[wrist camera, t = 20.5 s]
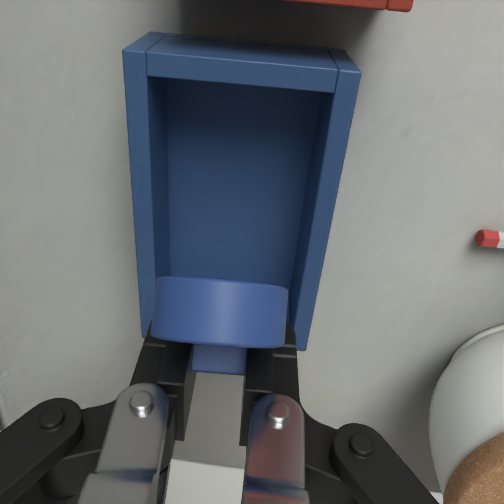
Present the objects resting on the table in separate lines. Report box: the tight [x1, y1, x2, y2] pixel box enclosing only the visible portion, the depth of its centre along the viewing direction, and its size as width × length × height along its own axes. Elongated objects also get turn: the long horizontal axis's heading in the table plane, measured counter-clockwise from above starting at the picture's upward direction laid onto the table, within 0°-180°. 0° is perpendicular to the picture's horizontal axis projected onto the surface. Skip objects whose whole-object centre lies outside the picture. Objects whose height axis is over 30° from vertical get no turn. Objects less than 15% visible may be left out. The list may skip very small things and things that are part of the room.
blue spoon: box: [151, 276, 288, 376], centre depth 13 cm, size 8×3×2 cm
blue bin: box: [122, 32, 361, 351], centre depth 18 cm, size 7×11×4 cm, turn 175°
